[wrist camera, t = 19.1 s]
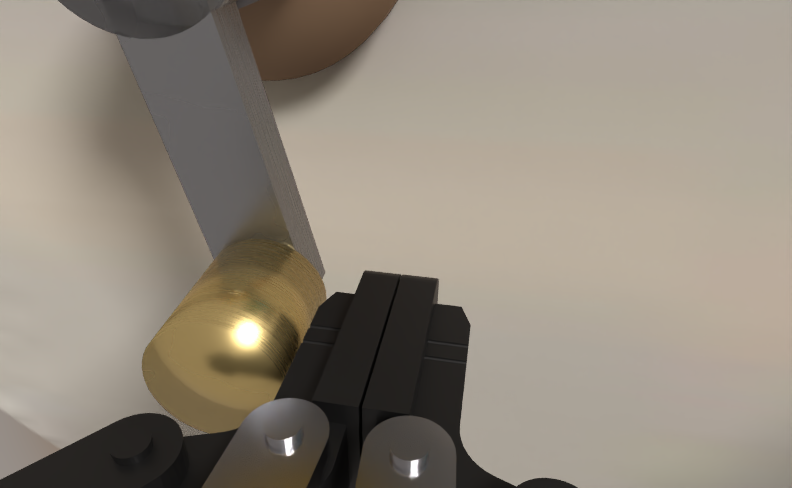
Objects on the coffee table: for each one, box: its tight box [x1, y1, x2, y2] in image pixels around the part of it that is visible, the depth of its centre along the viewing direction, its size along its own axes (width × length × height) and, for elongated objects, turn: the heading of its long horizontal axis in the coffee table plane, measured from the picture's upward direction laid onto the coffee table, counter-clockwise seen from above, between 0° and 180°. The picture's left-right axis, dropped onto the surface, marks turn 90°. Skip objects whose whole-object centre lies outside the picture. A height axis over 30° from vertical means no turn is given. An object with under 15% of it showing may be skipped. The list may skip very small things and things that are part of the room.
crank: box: [58, 0, 326, 434], centre depth 11 cm, size 12×4×4 cm, turn 13°
